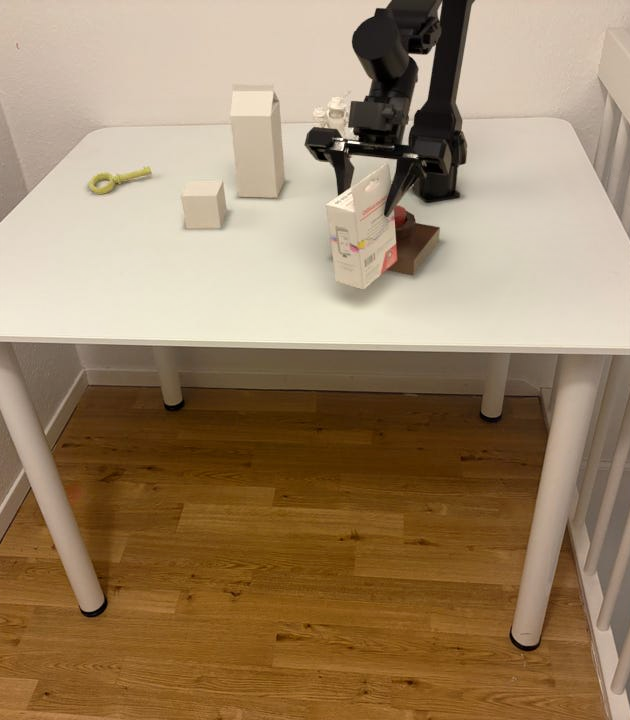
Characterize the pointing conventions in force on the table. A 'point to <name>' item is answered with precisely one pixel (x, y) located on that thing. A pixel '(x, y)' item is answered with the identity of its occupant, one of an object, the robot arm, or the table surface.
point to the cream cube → (204, 204)
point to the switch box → (413, 245)
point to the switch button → (399, 215)
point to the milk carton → (257, 140)
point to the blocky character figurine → (334, 115)
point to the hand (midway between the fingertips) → (363, 213)
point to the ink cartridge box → (362, 230)
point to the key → (115, 179)
